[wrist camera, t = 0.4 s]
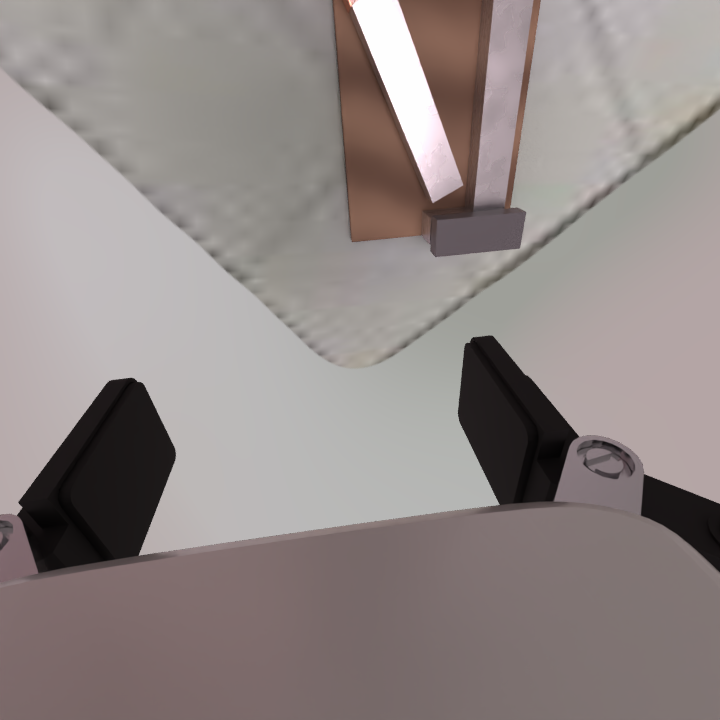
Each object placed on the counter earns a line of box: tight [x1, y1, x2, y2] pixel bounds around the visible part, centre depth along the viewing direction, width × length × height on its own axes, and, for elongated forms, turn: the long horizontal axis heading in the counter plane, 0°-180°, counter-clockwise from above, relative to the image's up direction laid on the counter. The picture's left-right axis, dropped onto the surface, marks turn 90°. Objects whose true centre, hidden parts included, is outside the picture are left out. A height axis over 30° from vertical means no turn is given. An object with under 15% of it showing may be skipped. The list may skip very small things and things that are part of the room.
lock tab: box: [430, 208, 526, 257], centre depth 32 cm, size 3×7×2 cm, turn 94°
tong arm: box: [343, 0, 463, 203], centre depth 28 cm, size 19×3×2 cm, turn 29°
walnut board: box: [333, 0, 541, 242], centre depth 30 cm, size 23×15×1 cm, turn 4°
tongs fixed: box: [421, 0, 533, 244], centre depth 29 cm, size 22×7×3 cm, turn 4°
